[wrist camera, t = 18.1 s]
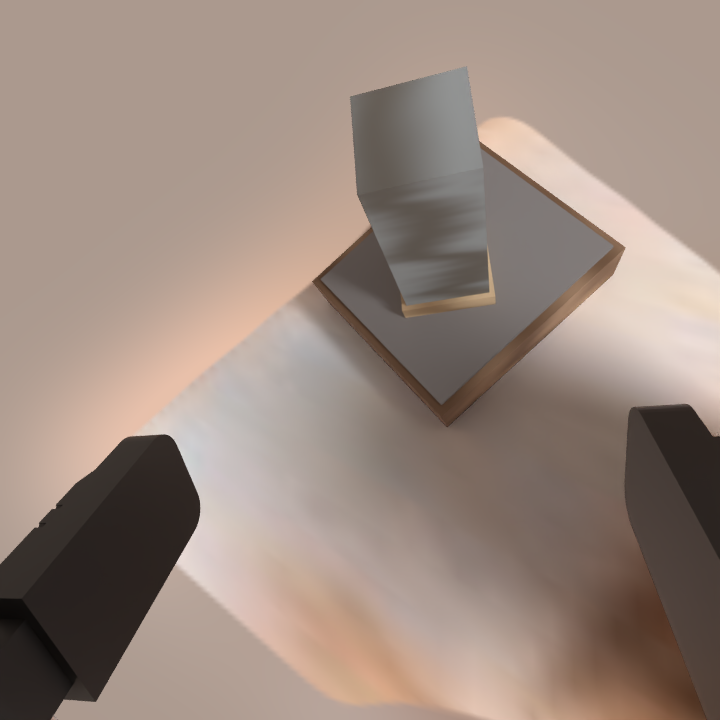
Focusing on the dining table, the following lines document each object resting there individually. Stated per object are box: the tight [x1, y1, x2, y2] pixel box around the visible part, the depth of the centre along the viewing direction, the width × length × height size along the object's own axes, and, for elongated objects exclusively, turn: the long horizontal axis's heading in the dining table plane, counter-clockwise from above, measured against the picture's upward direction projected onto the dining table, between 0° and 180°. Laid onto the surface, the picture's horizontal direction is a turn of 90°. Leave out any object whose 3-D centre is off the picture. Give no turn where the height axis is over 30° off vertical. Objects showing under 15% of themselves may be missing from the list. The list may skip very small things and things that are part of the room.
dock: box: [312, 141, 626, 427], centre depth 35 cm, size 15×13×4 cm
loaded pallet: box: [350, 67, 496, 318], centre depth 27 cm, size 6×6×13 cm
